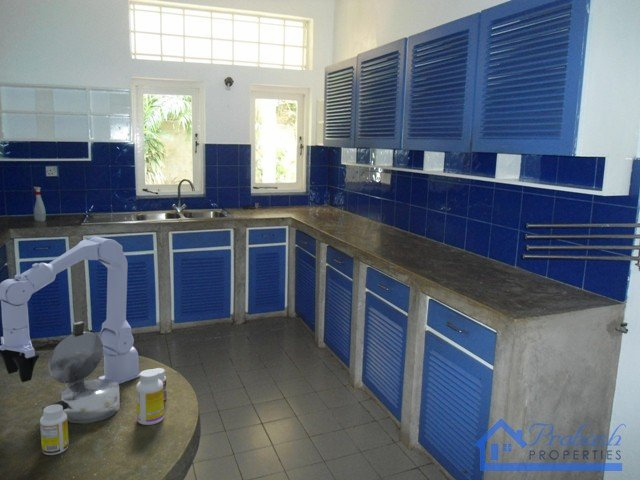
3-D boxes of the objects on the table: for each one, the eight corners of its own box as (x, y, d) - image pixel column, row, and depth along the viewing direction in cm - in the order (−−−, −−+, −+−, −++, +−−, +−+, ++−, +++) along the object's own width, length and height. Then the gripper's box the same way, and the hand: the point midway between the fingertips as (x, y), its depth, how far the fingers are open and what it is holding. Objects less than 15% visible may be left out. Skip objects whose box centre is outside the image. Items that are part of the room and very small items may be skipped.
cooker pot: (101, 392, 146) (101, 374, 145) (130, 408, 138) (129, 389, 137) (32, 418, 131) (31, 398, 130) (59, 437, 123) (58, 416, 122)
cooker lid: (101, 375, 145) (99, 373, 146) (105, 317, 141) (103, 315, 141) (49, 393, 134) (47, 391, 134) (51, 330, 129) (49, 328, 130)
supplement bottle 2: (169, 416, 134) (168, 370, 132) (153, 428, 128) (152, 380, 126) (147, 411, 136) (146, 365, 134) (131, 423, 130) (129, 375, 128)
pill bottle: (161, 404, 141) (160, 375, 139) (145, 401, 142) (145, 373, 140) (169, 396, 145) (169, 368, 144) (154, 394, 146) (153, 366, 145)
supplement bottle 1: (62, 440, 122) (60, 400, 120) (73, 449, 118) (71, 408, 116) (37, 449, 117) (35, 408, 116) (48, 459, 114) (45, 417, 112)
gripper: (-14, 323, 131) (-10, 373, 133) (11, 337, 122) (15, 390, 124) (15, 317, 136) (19, 365, 138) (42, 329, 128) (45, 380, 130)
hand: (19, 376), depth 132 cm, fingers open, 7 cm apart
